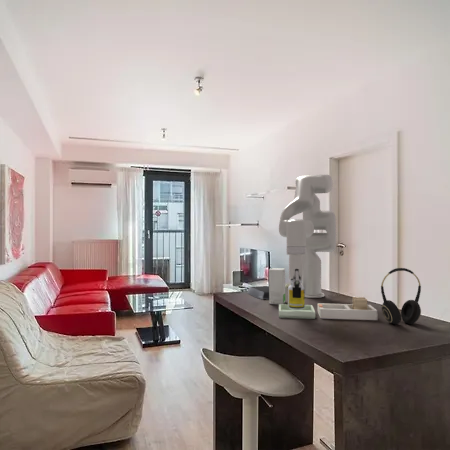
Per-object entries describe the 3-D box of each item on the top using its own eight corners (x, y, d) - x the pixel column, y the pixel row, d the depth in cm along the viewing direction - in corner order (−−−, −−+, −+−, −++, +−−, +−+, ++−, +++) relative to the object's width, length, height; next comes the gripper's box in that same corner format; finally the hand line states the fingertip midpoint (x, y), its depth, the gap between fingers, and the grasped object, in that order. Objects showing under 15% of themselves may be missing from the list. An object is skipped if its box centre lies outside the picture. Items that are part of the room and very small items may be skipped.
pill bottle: (304, 310, 142) (304, 280, 142) (287, 310, 143) (287, 280, 143) (304, 307, 149) (304, 278, 149) (288, 306, 150) (288, 278, 150)
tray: (278, 310, 153) (278, 304, 153) (312, 311, 151) (312, 305, 151) (278, 317, 141) (278, 311, 141) (315, 318, 139) (315, 312, 139)
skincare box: (282, 305, 163) (282, 269, 163) (268, 304, 165) (268, 269, 165) (285, 301, 171) (285, 267, 171) (271, 300, 173) (271, 267, 173)
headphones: (428, 326, 128) (428, 269, 128) (387, 327, 127) (387, 269, 127) (413, 320, 137) (413, 266, 137) (375, 321, 135) (375, 266, 136)
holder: (317, 311, 150) (317, 302, 150) (370, 313, 147) (370, 303, 147) (320, 318, 139) (320, 308, 139) (377, 320, 137) (377, 309, 137)
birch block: (352, 314, 145) (352, 297, 145) (364, 315, 144) (364, 297, 144) (354, 317, 141) (354, 299, 141) (367, 318, 140) (367, 299, 140)
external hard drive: (260, 300, 174) (260, 292, 174) (245, 293, 193) (245, 285, 193) (285, 299, 178) (285, 290, 178) (268, 292, 197) (268, 284, 197)
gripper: (286, 249, 155) (286, 291, 155) (287, 252, 138) (287, 300, 138) (304, 249, 154) (304, 292, 154) (307, 252, 137) (307, 300, 137)
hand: (296, 295), depth 146 cm, fingers closed on pill bottle, 6 cm apart
